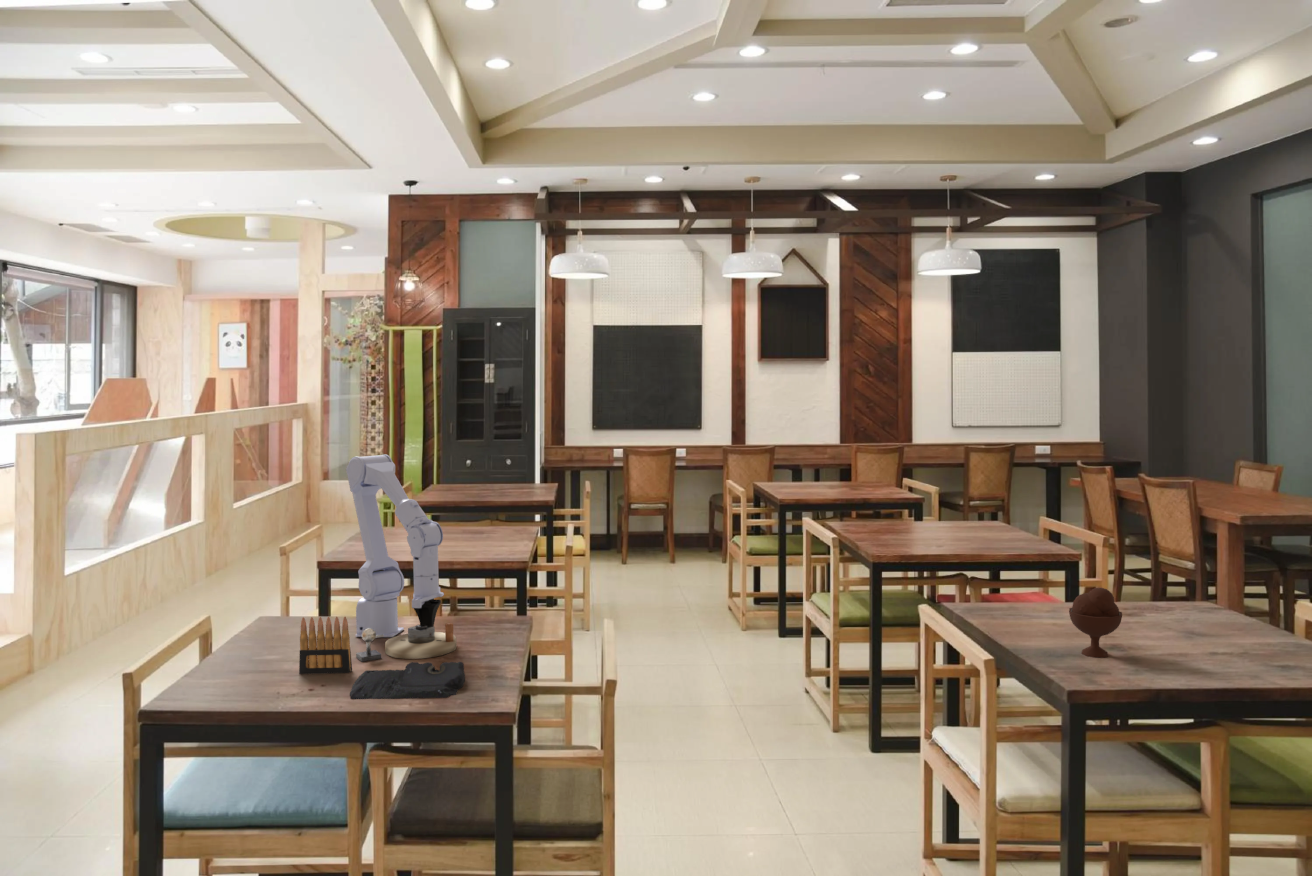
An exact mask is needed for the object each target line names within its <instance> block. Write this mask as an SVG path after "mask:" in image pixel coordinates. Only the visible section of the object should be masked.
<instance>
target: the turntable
mask: <svg viewBox="0 0 1312 876" xmlns="http://www.w3.org/2000/svg"><path fill="white" fill-rule="evenodd" d="M444 624H445V625H444V626H445V627H444V630H445V632H441V631H435V640H434V641H432V642H429V643H422V644H414V643H409V642H408V633H404V634H400V635H397V636H396V635H395V636H394V637H389V638H388V639H387V640H386V641H385V643H384V648H385V649H384V651H385V655H387V656H389V657H391V658H396V659H401V660H402V659H404V660H405V659H406V660H415V659H416V660H418V659H419V660H420V659H430V658H434V657H441V656H444V655H447V654H450V653H452V652H454V651H456V649H457V637H456V635H454V623H453V622H447V623H444Z"/></svg>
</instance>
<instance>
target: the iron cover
mask: <svg viewBox="0 0 1312 876" xmlns="http://www.w3.org/2000/svg"><path fill="white" fill-rule="evenodd" d="M435 632H436V630H435V625H434V626H431V625H425V624H420V623H419V624H417V625H413V626H410V627H409V628H407V634H408V642H409V643H414V644H422V643H429V642H432V641H434V640H435Z"/></svg>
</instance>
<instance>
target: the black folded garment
mask: <svg viewBox="0 0 1312 876" xmlns="http://www.w3.org/2000/svg"><path fill="white" fill-rule="evenodd" d="M404 668H405V669H382V670H379V669H378V670H377V669H376V670H365V671H363V673H361V674H360V675H359V676H358V677H357V678H356V679H355V681H354V683H353V685H352V686H351V689H350V692H349V697H350V699H351V700H370V699H371V700H397V699H398V700H403V699H442V698H443V699H444V698H445V699H446V698H449V697H450V696H457V693H458V691H459V690H460V689H462V688H463V687H464V684H465V682H466V673H465V663H464V662H462V661H457V662H456V661H455V662H454V661H451V662H448V661H446V662H445V661H444V662H442V663H441V664H440V665H439V670H438V669H436V667H435V666H434V665H433V663H432V662H424V663H419V662H417V661H416V662H415V661H414V662H413V661H411V662H409V663H407V664H406V666H405V667H404Z"/></svg>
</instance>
